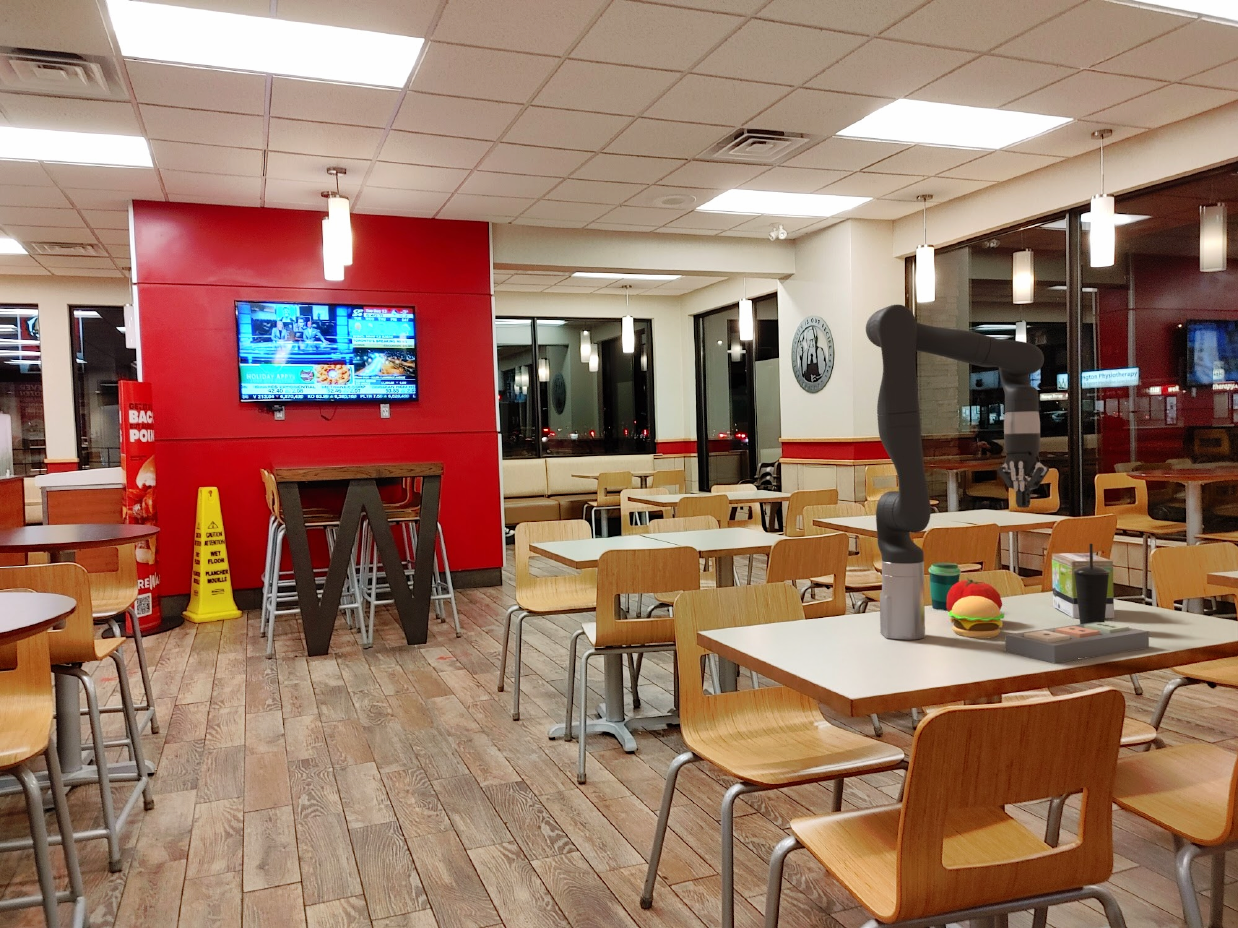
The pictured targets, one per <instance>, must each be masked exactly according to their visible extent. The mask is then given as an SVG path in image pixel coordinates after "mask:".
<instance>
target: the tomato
mask: <svg viewBox="0 0 1238 928" xmlns="http://www.w3.org/2000/svg"><path fill="white" fill-rule="evenodd" d="M968 596H981V597H984V598H987V599H989V600H992V601H993V602H994V603H995V604H997V606H998V608H999V609H1000V610H1001V609H1002V606H1003V601H1002V598H1001V594H1000V593H999V592H998V591H997V589H996V588H995V587H994V586H992V585H990V583H987V582H983V581H974V579H970V578H968V577H966V580H959V582H958V583H956V584H954V585H953V586H952V587H951V589H950V590H949V592H948V594H947V609H948V610H947V611H948V612H947V613H949V612H950V611H951V610H952V607H953V606H954V604H955V603H956V602H957V601H958V600H960V599H962V598H965V597H968Z"/></svg>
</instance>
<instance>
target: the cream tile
mask: <svg viewBox="0 0 1238 928" xmlns="http://www.w3.org/2000/svg"><path fill="white" fill-rule="evenodd" d="M1024 637H1026V638H1031V639H1036V640H1040V641H1045V642H1055V641H1062V640H1069V639H1070V636H1069V635H1064V634H1059V633H1054V632H1050V631H1038V632H1030V633H1024Z"/></svg>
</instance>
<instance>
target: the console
mask: <svg viewBox="0 0 1238 928" xmlns="http://www.w3.org/2000/svg"><path fill="white" fill-rule="evenodd" d="M1094 623H1101V622H1093V623H1086V624H1080V623H1079V624H1071V625H1067V626H1066V625H1065V626H1064V625H1063V626H1058V627H1051V628H1043V629H1039V630H1038V629H1037V630H1030V631H1022V632H1013V633H1008V634H1004V635H1005V652H1007V653H1011V654H1015V655H1019V656H1024V657H1027V658H1031V659H1035V660H1038V661H1039V660H1040V661H1044V662H1048V663H1052V664H1059V663H1064V662H1070V661H1069V660H1072V661H1076V660H1075V659H1078V658H1084V659H1086V658H1085V657H1090V658H1094V657H1093V656H1096V657H1100V656H1099V655H1102V656H1109V655H1114V654H1120V652H1121V653H1125V652H1126V653H1127V652H1131V651H1132V652H1133V651H1137V650H1145V649H1149V648H1150V633H1149V630H1142V629H1137V628H1133V627H1129V631H1123V632H1116V633H1106V632H1101V631H1100V635H1096V636H1089V637H1082V638H1079V637H1074V636H1070V639H1069V640H1062V641H1055V642H1045V641H1040V640H1036V639H1031V638H1026V637H1024V633H1030V632H1038V631H1050V632H1054V633H1055V629H1058V628H1065V627H1072V626H1076V627H1081V628H1084V625H1087V624H1094ZM1078 660H1079V659H1078Z"/></svg>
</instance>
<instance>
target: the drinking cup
mask: <svg viewBox="0 0 1238 928" xmlns="http://www.w3.org/2000/svg"><path fill="white" fill-rule="evenodd" d="M1088 546H1089V553H1090V565H1088V566H1082V567H1079V568H1077V569H1074V570H1073V573H1074V574H1075V583H1076V592H1077V600H1078V609H1079V618H1078V619H1079V624H1086V623H1093V622H1105V623H1106V618H1105V612H1106V601H1107V590H1108V578H1109V574H1110V571H1108V570H1106V569H1104V568H1101V567H1098V566H1093V554H1094V548H1093V547H1094V546H1093V543H1089V545H1088Z"/></svg>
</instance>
